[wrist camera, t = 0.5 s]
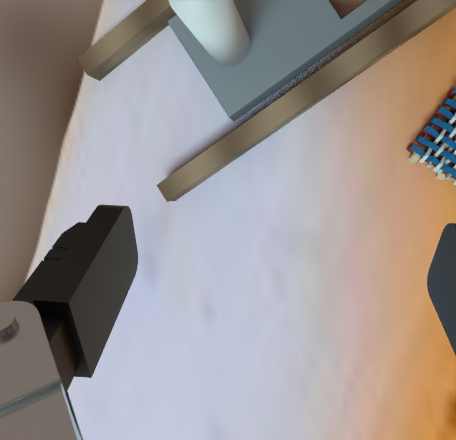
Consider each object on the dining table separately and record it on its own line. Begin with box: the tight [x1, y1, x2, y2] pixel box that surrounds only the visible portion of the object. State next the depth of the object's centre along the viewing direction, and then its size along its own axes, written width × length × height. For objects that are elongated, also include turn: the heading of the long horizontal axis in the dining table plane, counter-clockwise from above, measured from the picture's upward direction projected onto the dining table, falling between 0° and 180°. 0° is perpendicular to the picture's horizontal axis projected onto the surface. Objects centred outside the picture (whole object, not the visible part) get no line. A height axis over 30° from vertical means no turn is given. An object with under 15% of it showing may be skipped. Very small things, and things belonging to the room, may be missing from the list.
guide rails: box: [78, 0, 456, 202], centre depth 32 cm, size 30×14×2 cm, turn 123°
